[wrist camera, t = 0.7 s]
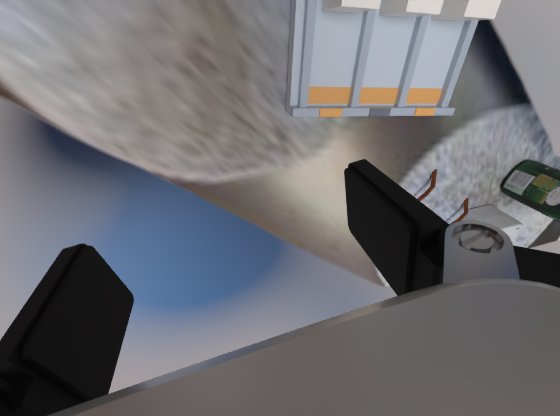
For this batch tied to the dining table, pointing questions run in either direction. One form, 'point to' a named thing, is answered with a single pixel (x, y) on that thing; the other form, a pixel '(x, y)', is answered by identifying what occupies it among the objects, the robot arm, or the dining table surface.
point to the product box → (495, 219)
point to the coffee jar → (535, 187)
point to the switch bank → (372, 63)
